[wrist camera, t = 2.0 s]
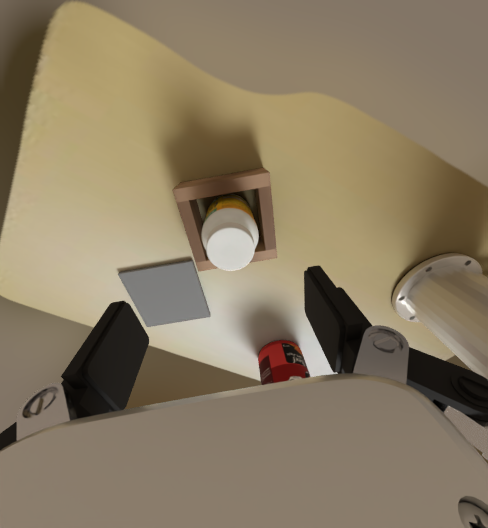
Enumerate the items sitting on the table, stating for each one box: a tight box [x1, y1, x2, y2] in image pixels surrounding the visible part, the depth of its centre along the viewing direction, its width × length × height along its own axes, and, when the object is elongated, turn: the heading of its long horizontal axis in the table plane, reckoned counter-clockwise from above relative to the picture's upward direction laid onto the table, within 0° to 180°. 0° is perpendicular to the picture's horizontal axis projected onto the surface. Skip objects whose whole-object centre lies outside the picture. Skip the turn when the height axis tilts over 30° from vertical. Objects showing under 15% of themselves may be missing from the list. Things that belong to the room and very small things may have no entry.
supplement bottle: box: [202, 194, 259, 271], centre depth 21 cm, size 5×5×10 cm
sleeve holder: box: [173, 168, 277, 271], centre depth 24 cm, size 9×9×4 cm
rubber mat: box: [118, 260, 210, 327], centre depth 31 cm, size 10×10×1 cm
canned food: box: [258, 340, 310, 385], centre depth 34 cm, size 8×8×11 cm
